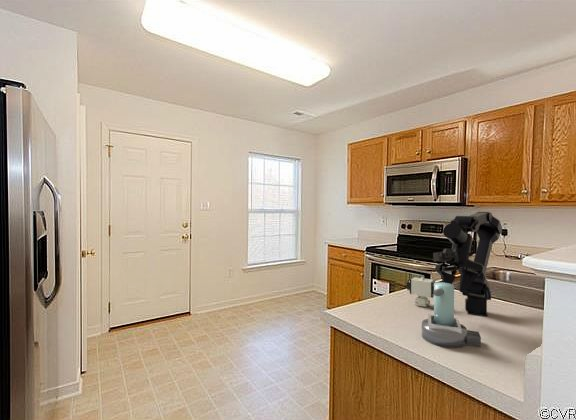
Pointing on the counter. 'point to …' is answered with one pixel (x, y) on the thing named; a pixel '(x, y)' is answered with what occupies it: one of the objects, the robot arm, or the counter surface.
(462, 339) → the grey socket base
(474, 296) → the robot arm
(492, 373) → the counter surface
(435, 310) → the cylinder
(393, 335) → the counter surface
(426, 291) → the pneumatic valve
